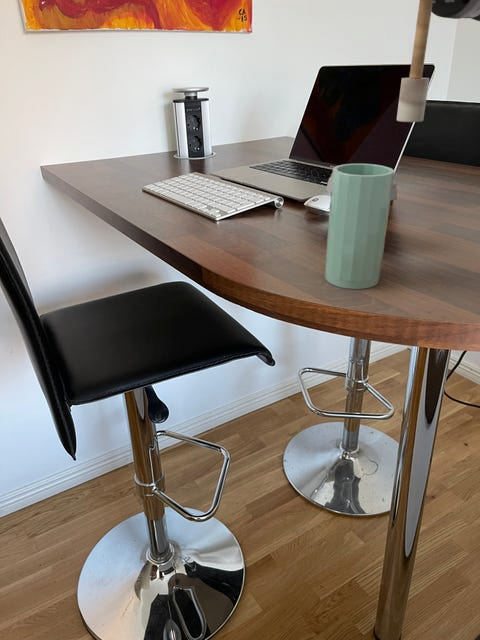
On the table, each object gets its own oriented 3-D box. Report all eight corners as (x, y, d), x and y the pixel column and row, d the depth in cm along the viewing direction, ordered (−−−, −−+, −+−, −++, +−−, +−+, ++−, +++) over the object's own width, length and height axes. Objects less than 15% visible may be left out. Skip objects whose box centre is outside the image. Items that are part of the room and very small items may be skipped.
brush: (419, 118, 80) (441, -33, 71) (426, 122, 76) (450, -37, 67) (394, 119, 80) (412, -32, 71) (399, 122, 77) (420, -36, 67)
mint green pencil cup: (373, 268, 68) (387, 163, 62) (383, 289, 62) (399, 176, 56) (322, 267, 69) (330, 163, 62) (327, 288, 63) (336, 176, 56)
